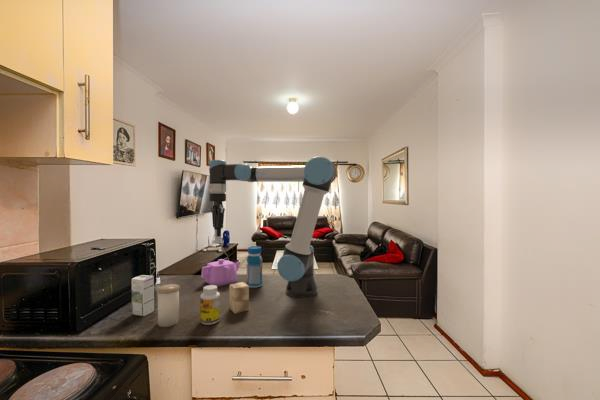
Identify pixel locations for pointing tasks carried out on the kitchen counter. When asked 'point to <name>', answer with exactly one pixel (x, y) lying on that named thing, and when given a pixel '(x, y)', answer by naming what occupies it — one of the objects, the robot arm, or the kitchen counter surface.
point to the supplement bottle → (210, 305)
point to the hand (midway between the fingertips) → (217, 242)
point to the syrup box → (142, 295)
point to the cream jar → (168, 305)
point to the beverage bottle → (254, 267)
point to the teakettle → (220, 272)
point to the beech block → (239, 297)
